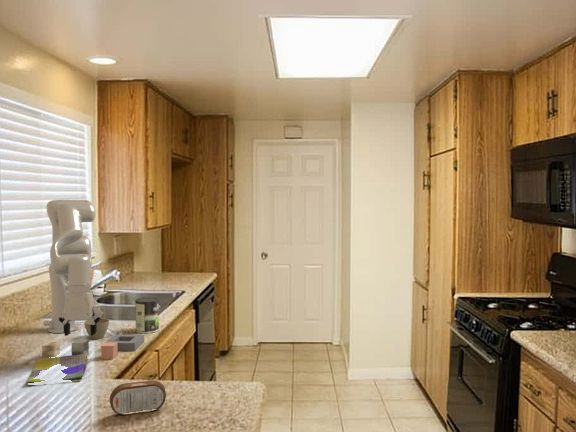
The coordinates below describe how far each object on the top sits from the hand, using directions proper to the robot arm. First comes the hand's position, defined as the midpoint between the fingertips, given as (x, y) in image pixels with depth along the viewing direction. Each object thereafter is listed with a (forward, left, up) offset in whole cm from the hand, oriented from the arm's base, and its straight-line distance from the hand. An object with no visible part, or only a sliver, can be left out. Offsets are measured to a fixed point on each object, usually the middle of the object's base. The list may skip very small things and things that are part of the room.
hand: (80, 334), depth 187 cm
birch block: (-11, +1, -9) cm, 14 cm away
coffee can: (+14, +39, -9) cm, 42 cm away
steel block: (0, +1, -9) cm, 9 cm away
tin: (+37, -47, -9) cm, 61 cm away
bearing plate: (+12, +15, -9) cm, 20 cm away
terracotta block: (+11, +1, -9) cm, 14 cm away
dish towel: (-1, -16, -9) cm, 18 cm away
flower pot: (-4, +27, -9) cm, 28 cm away
